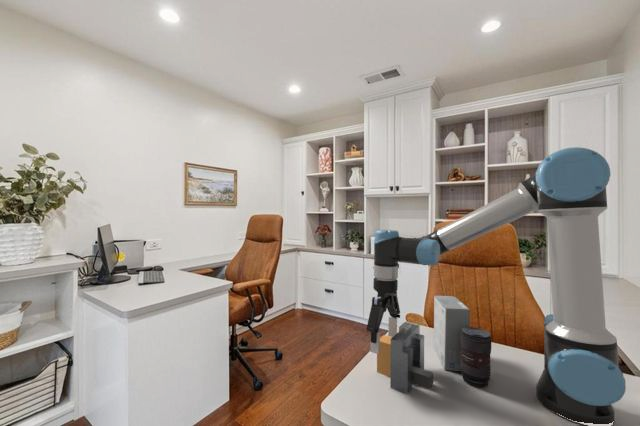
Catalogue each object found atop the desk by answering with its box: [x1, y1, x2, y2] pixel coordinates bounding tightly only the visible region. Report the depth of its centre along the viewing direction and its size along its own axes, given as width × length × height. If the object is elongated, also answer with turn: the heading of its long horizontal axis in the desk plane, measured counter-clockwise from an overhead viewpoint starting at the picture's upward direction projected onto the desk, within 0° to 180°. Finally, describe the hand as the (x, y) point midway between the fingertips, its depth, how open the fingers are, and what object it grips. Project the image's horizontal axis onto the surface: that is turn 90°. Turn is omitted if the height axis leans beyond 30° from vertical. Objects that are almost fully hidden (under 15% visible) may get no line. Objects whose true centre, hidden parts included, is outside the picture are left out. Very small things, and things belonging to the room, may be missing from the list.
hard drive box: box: [433, 295, 471, 372], centre depth 97 cm, size 16×8×20 cm, turn 171°
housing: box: [389, 321, 425, 395], centre depth 85 cm, size 5×15×16 cm, turn 143°
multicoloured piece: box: [376, 334, 434, 391], centre depth 86 cm, size 16×5×10 cm, turn 53°
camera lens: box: [460, 326, 492, 389], centre depth 84 cm, size 8×8×15 cm
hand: (384, 344), depth 90 cm, fingers open, 13 cm apart
